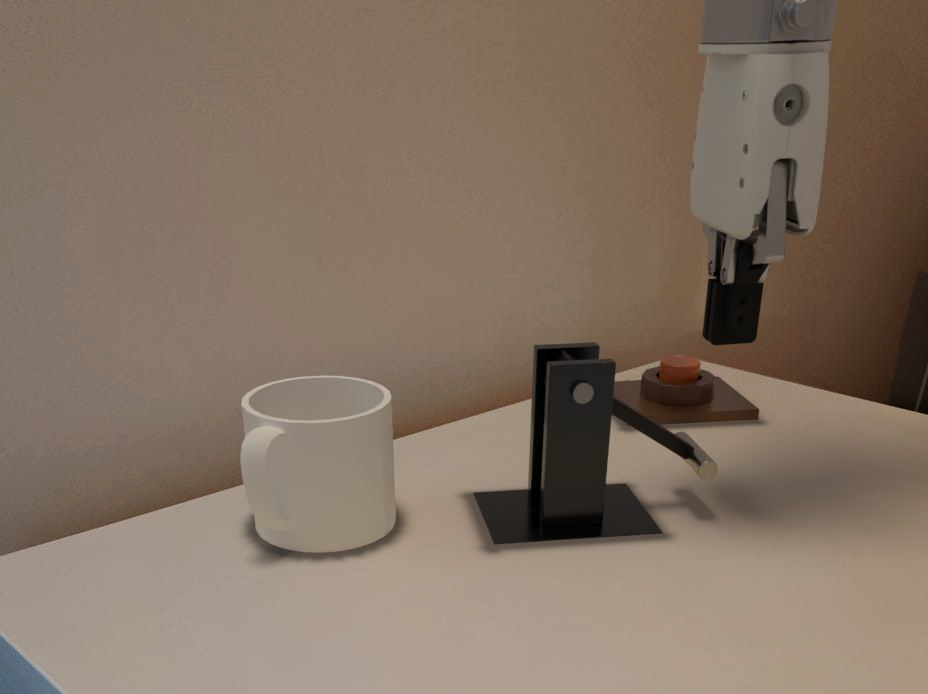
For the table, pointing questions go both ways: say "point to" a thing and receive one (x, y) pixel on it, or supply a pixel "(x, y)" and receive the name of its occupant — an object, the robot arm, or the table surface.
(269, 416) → the mug
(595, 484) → the bracket
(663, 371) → the button
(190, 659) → the table surface
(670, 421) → the button box
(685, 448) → the lever
